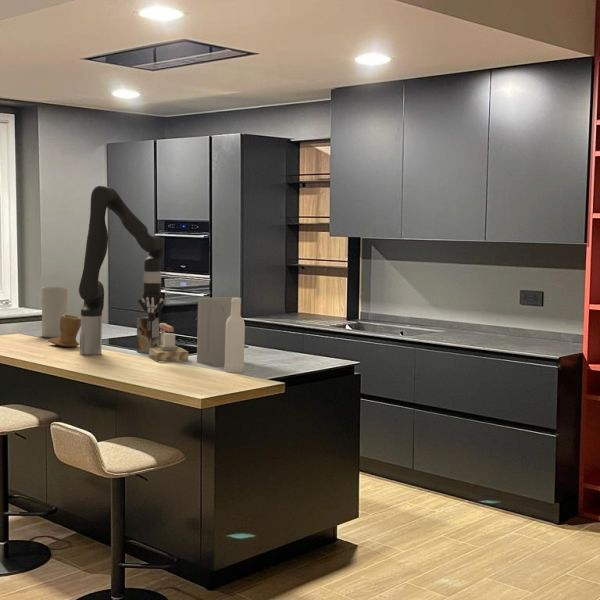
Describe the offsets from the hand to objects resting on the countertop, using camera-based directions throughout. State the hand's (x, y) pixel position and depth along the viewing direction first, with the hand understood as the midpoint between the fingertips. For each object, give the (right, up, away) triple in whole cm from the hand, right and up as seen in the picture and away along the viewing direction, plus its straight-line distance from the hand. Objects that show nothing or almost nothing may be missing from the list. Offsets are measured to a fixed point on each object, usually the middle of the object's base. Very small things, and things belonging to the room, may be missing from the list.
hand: (152, 321), depth 375 cm
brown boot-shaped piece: (-46, -13, +32) cm, 58 cm away
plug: (+7, -17, +2) cm, 18 cm away
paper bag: (+32, -18, -6) cm, 37 cm away
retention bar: (+6, -4, +5) cm, 8 cm away
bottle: (+38, -20, -25) cm, 50 cm away
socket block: (+7, -17, +2) cm, 18 cm away
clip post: (+3, -16, +12) cm, 20 cm away
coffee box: (-5, -15, +20) cm, 26 cm away
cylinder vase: (-62, -10, +66) cm, 91 cm away
